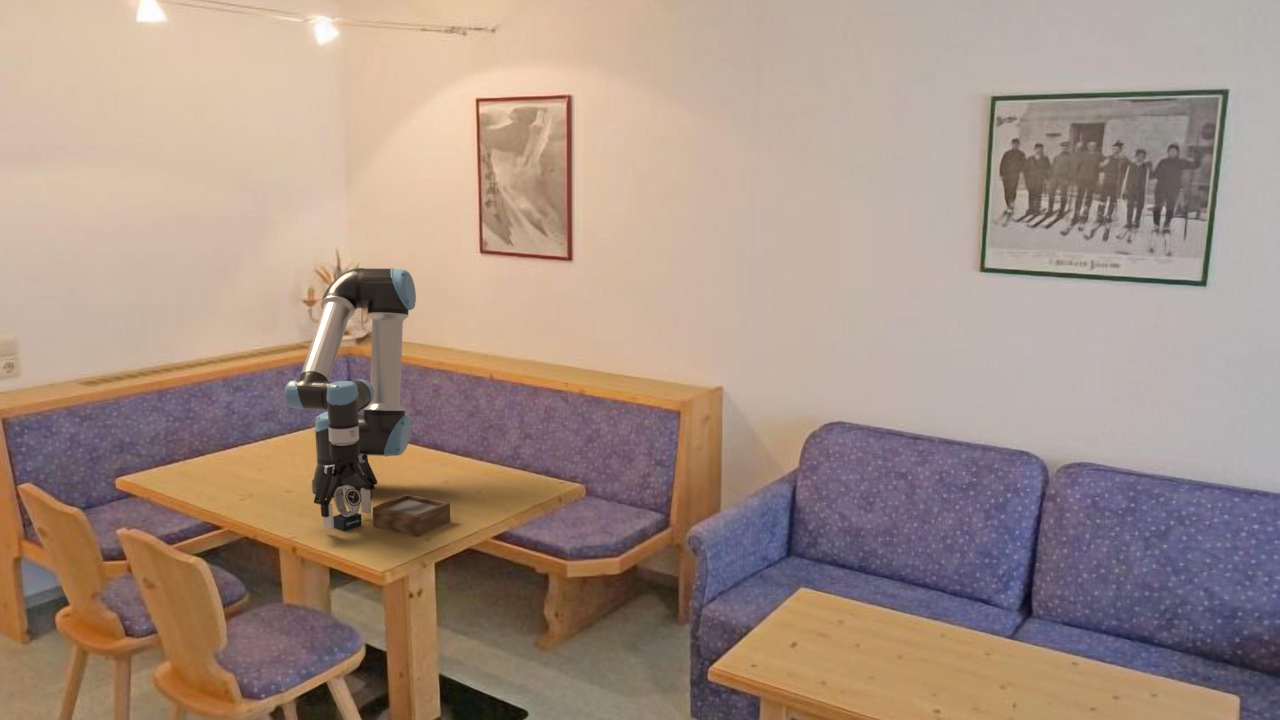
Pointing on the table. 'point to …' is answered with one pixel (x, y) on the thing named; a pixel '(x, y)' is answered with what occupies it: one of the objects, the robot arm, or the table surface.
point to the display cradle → (411, 515)
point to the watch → (353, 502)
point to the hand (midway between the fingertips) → (347, 520)
